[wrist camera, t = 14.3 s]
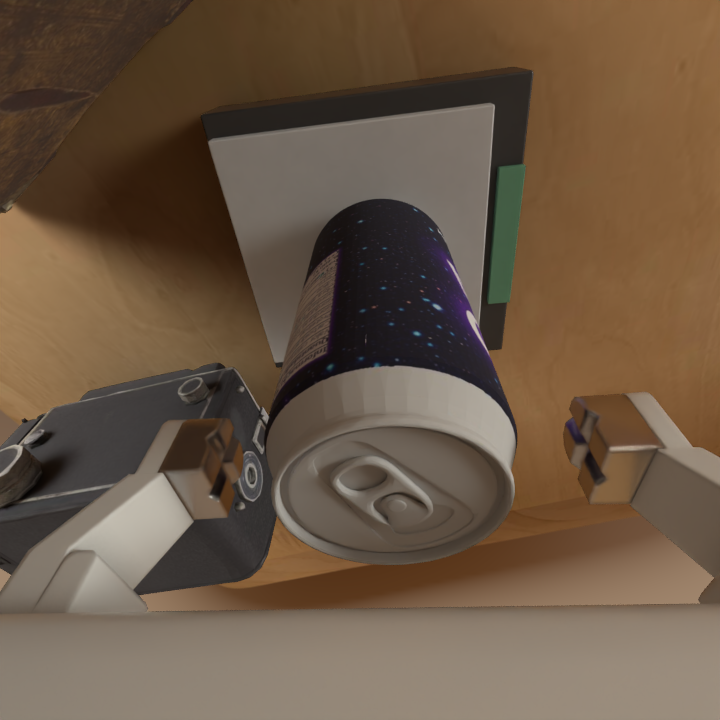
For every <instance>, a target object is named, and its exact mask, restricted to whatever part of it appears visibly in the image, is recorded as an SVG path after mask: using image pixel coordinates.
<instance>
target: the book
mask: <svg viewBox="0 0 720 720" xmlns="http://www.w3.org/2000/svg"><path fill="white" fill-rule="evenodd" d="M192 1H193V0H0V213H6V212H7V211H9V210H10V209H11V208H12V205H13V203H14V202H15V201H16V200H17V199H18V198H19V197H20V195H21V194H22V193H23V192H24V191H25V190H26V189H27V188H28V186H29V185H30V184H31V183H32V182H33V181H34V180H35V179H36V177H37V176H38V175H39V174H40V173H41V172H42V170H43V169H44V168H45V167H46V165H47V164H48V163H49V162H50V161H51V160H52V159H53V158H54V157H55V154H56V151H57V148H58V147H59V146H60V144H61V143H62V142H63V140H64V139H65V138H66V136H67V135H68V134H69V133H70V131H71V130H72V129H73V127H74V126H75V125H76V123H77V122H78V121H79V119H80V118H81V117H82V115H83V114H84V113H85V111H86V110H87V109H88V108H89V107H90V105H91V104H92V103H93V102H94V101H95V100H96V99H97V97H98V96H99V95H100V94H101V93H102V92H103V91H104V90H105V88H106V87H107V86H108V85H109V84H110V83H111V82H112V81H113V79H114V78H115V77H116V76H117V75H118V74H119V73H120V71H121V70H122V69H123V68H124V67H125V66H126V65H127V63H128V62H129V61H130V60H131V59H132V58H133V57H134V55H135V54H136V53H137V52H138V51H139V50H140V48H141V47H142V46H143V45H144V44H145V43H146V42H147V41H148V40H149V39H150V38H151V37H152V36H153V35H154V34H155V33H156V32H157V31H158V30H160V29H161V28H163V27H165V26H167V25H169V24H171V23H172V22H173V21H174V19H175V18H176V17H177V16H178V15H179V14H180V13H181V12H182V11H183V10H184V9H185V8H186V7H187V6H188V5H189V4H190V3H191V2H192Z"/></svg>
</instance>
